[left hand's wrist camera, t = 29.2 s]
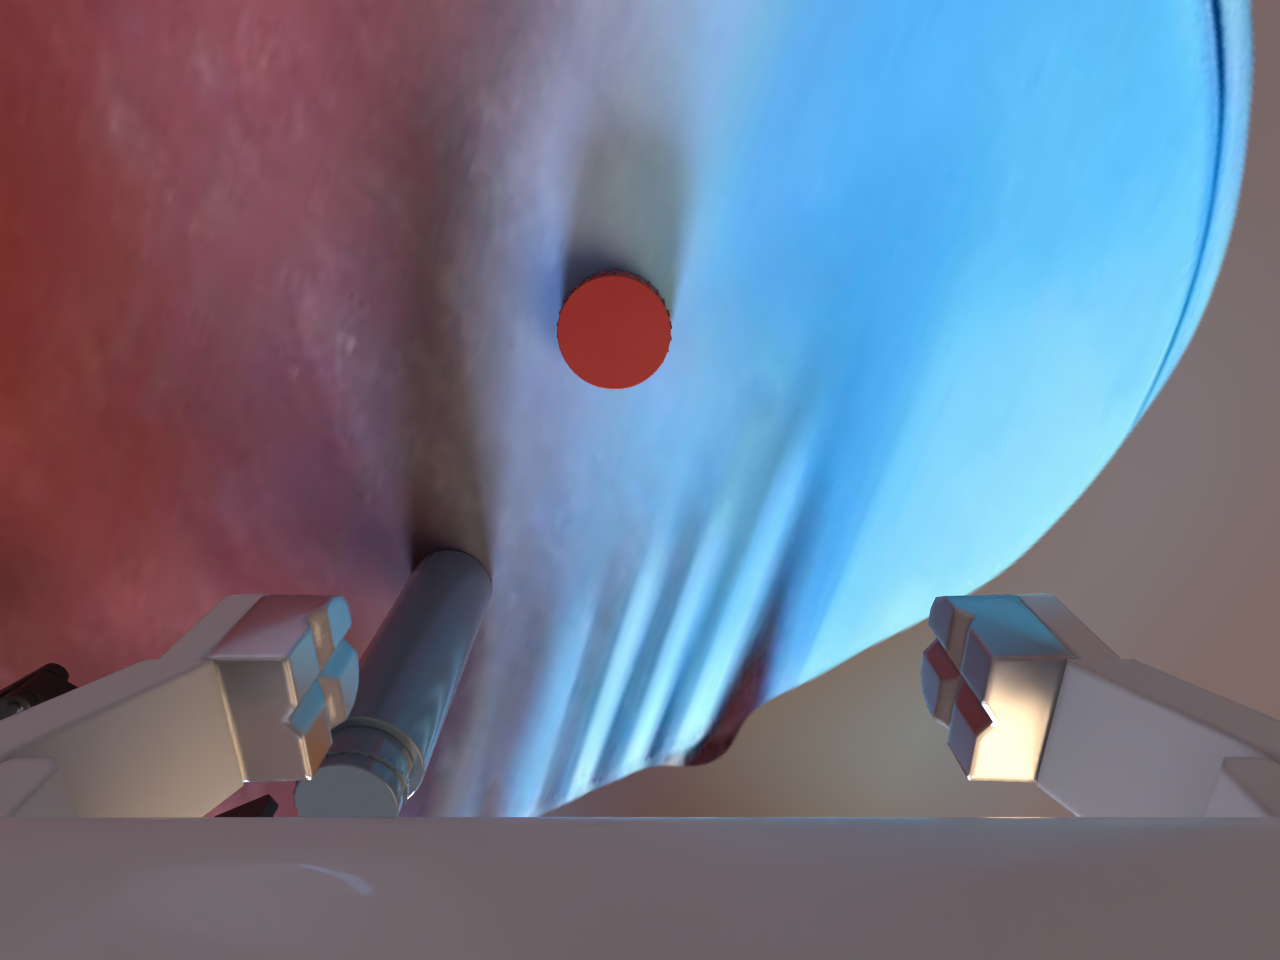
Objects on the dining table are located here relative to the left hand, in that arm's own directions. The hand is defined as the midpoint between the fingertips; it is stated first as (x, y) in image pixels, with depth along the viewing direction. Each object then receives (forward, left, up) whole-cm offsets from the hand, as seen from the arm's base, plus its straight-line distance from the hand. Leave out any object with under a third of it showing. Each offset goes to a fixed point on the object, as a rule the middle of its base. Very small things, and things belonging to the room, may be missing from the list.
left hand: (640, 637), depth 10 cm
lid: (+1, -1, -25) cm, 25 cm away
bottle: (+18, 0, -27) cm, 33 cm away
